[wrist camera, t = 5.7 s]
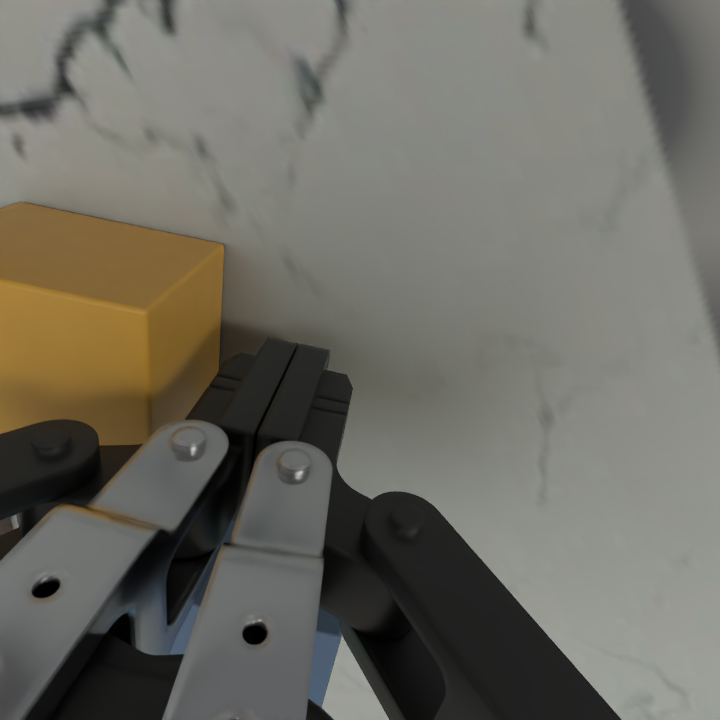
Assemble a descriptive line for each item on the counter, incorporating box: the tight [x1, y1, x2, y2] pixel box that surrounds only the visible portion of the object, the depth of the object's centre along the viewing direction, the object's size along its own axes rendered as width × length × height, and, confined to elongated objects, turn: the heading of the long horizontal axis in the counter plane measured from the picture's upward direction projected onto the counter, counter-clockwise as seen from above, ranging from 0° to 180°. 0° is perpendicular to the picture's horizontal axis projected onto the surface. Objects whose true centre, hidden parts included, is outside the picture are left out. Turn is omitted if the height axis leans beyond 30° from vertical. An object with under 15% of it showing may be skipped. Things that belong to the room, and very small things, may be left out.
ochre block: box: [0, 202, 224, 445], centre depth 12 cm, size 5×5×4 cm
